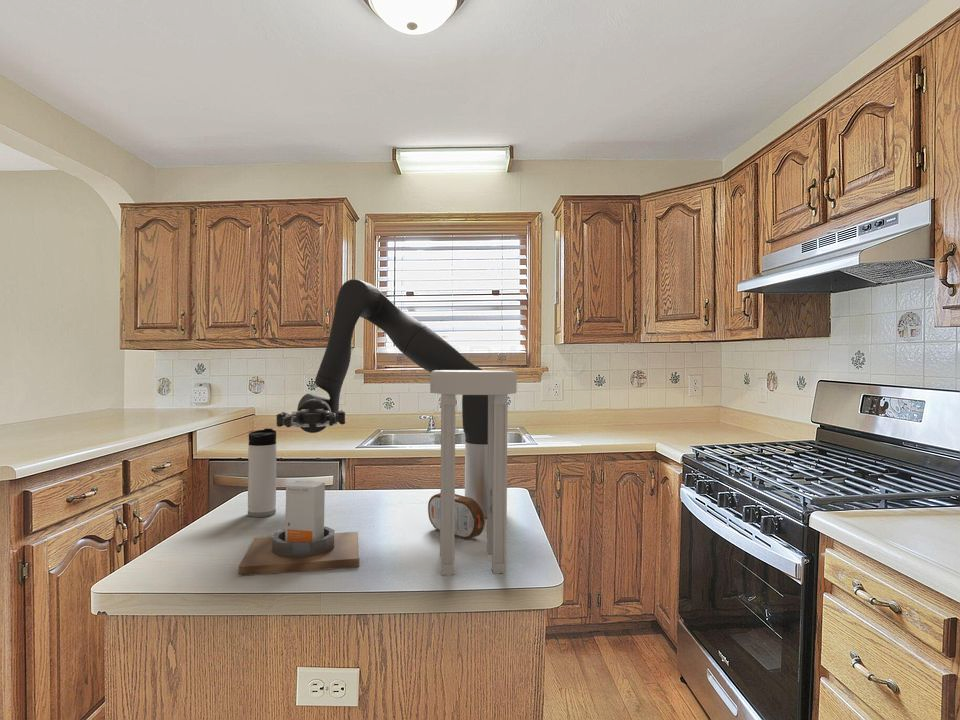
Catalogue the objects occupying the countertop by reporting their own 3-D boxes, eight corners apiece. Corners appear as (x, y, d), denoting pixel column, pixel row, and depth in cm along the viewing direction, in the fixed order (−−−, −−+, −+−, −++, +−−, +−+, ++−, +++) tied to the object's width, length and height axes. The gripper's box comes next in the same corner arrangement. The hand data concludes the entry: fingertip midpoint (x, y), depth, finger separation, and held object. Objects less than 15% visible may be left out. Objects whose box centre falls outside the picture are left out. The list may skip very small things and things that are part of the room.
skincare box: (284, 549, 103) (284, 485, 103) (295, 542, 107) (296, 480, 107) (314, 552, 102) (315, 486, 102) (325, 544, 106) (325, 481, 106)
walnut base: (357, 538, 114) (357, 531, 114) (359, 566, 99) (359, 558, 99) (254, 545, 110) (254, 537, 110) (238, 575, 94) (238, 566, 94)
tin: (485, 541, 114) (485, 499, 114) (474, 544, 112) (475, 502, 112) (435, 525, 124) (436, 488, 124) (425, 528, 122) (425, 490, 122)
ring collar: (335, 536, 111) (335, 524, 111) (333, 555, 100) (333, 541, 100) (276, 540, 108) (276, 527, 108) (268, 559, 98) (268, 545, 98)
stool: (428, 580, 93) (430, 371, 93) (429, 549, 108) (430, 369, 109) (519, 577, 94) (521, 371, 94) (507, 547, 110) (509, 370, 110)
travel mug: (281, 510, 136) (281, 428, 136) (268, 518, 129) (268, 431, 129) (256, 509, 136) (257, 428, 136) (242, 517, 130) (243, 431, 130)
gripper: (282, 399, 129) (273, 404, 113) (345, 398, 132) (344, 402, 117) (282, 432, 129) (273, 441, 113) (345, 429, 132) (345, 438, 117)
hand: (309, 421), depth 115 cm, fingers open, 8 cm apart
